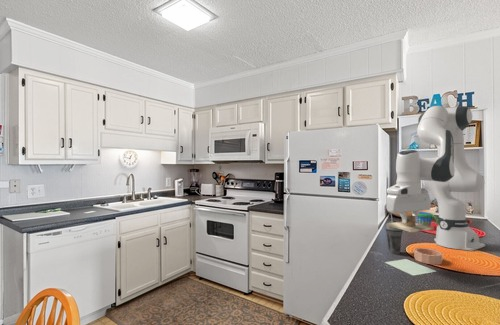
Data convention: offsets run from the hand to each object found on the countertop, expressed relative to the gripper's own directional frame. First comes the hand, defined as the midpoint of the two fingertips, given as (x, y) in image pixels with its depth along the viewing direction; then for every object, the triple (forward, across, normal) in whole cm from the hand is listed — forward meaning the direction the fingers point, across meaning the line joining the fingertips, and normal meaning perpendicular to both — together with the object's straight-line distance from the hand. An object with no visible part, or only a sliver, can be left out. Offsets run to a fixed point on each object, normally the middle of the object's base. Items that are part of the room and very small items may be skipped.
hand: (409, 222), depth 107 cm
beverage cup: (+19, -7, -15) cm, 25 cm away
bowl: (+19, -13, -3) cm, 23 cm away
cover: (+2, 0, 0) cm, 2 cm away
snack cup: (+20, -63, -46) cm, 80 cm away
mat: (+19, +1, 0) cm, 19 cm away
